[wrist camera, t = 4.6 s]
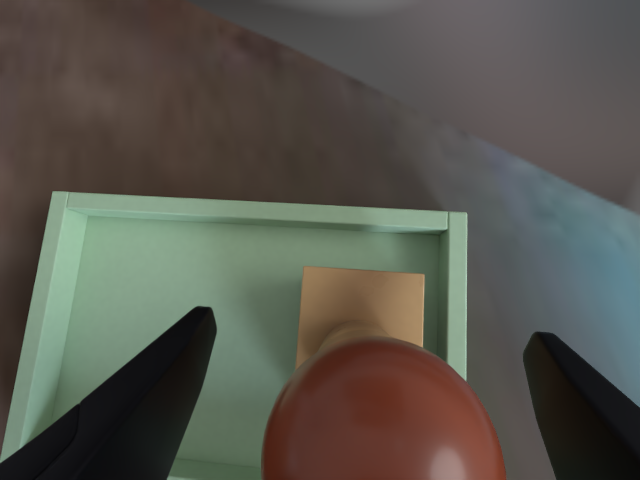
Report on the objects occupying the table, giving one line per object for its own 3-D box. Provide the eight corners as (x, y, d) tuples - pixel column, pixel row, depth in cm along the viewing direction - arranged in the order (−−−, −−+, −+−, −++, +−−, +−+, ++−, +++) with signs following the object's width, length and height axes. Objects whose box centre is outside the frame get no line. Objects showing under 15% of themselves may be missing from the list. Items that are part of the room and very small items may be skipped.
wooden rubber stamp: (408, 278, 16) (617, 211, 4) (403, 430, 15) (668, 1032, 3) (311, 272, 16) (207, 190, 4) (300, 420, 15) (117, 909, 3)
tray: (453, 222, 17) (468, 211, 15) (449, 502, 15) (466, 534, 13) (84, 202, 19) (52, 190, 16) (39, 455, 17) (-5, 477, 15)
